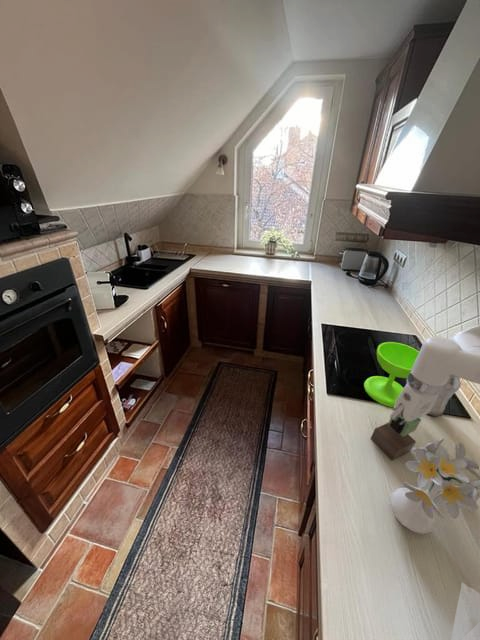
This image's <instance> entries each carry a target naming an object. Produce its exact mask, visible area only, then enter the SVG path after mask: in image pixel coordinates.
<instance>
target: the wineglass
mask: <svg viewBox="0 0 480 640" xmlns="http://www.w3.org/2000/svg"><path fill="white" fill-rule="evenodd" d="M419 352H420V350H418V349H416V348H414V347H412V346H409V345H408V344H403V343H402V342H401V343H400V342H394V341H385V342H382V343H380V344H379V345H378V346H377V348H376V358H377V362H378V364H379V365H380V367H381V368H382V370H384V372H386V373H387V374H389V376H388V377H386V376H381V375H380V376H379V375H374V376H370V377H368V378H367V379H366V380H364V383H363V388H364V390H365V393H367V395H368V396H369V397H370V398H371V399H372V400H374V401H376V402H377V403H379V404H381V405H383V406H385V407H389V408H394V405H395V403H396V401H397V399H398V397H399V395H400V393H401V392H402V390H403V388H404V387H403V385H401V384H400V383H398V382H397V381H396V380H395V379H396V378H401V379H407V377H408V375H409V373H410V371H411V369H412V367H413V365H414V362H415V360H416V358H417V356H418V354H419Z"/></svg>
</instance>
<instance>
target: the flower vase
mask: <svg viewBox="0 0 480 640" xmlns="http://www.w3.org/2000/svg"><path fill="white" fill-rule="evenodd" d="M444 440H445V437H444V438H442V439H439V440H437V442H435V441H434V440H433V441H430V442H427V443H426V444H425V448H424V447H423V446H421V447H419V446H418V447H412V449H411V451H410V452H414V454H415V457H416V459H417V460H418V461H416V460H408V461H407V462H405V468H406V469H408V470H409V471H411V472H414V473H418V475H417V478H416V484H417V487H416V486H414V485H412V484H410V483H408V482H406V481H404V480H401V484H402V485H403V486H404V487H399V488H397V489H395V490H394V491H393V492H392V493H391V495H390V498H389V499H390V506H391V510H392V512H393V514H394V516H395V518H396V519H397V521H398V522H399V523H400V524H401V525H402V526H403V527H405V528H406V529H408V530H409V531H412V532H413V533H416V534H422V535H423V534H424V535H425V534H428V533H431V532H432V531H433V530H434V528H435V526H436V515H438V516H439V517H441V518H442V519H443V518H445V516H444V514H443V513H442V512H441V510H440V508H439V507H438V506H437V505H444V504H446V509H447V513H448V515H449V517H450V518H451V519H456V518H458V516H459V514H460V506H462V507H463V508H465V509H467V510H468V512H469V513H471V511H477V510H478V509H479V505H478V503H477V502H478V501H479V497H480V494H479V491H478V490H479V489H480V475H479V474H478V472H477V471H475V470H480V466H479V464H478V463H477V462H476V461H475V460H473V459H472V458H470V457H466V455H467V451H466V447H465V446H464V444H463V442H462V441H459V444H456V443H454V447H455V458H451V459H450V455H449V453H448V451H447V450H446V448H445V447H444V446H442V443H443V441H444ZM436 452H437V455H436ZM462 469H465V470H466V471H467V472H469V473H470V474H472V475H473V476H474V477H476V479H477V480H473V481H470V478H469V477H468V476H467V475H466V474H465V473H464V472H462V471H460V470H462ZM453 481H455V482H457V483H458V484H460V485H454V484H453ZM441 490H442V491H441ZM440 491H441V492H440ZM459 505H460V506H459Z"/></svg>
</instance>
